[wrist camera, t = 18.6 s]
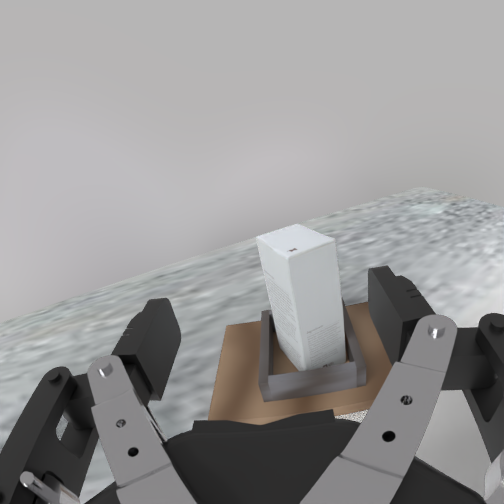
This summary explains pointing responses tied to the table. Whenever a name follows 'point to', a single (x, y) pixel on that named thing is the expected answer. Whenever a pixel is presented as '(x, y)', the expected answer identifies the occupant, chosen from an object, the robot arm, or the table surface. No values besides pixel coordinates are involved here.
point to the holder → (296, 373)
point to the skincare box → (304, 295)
